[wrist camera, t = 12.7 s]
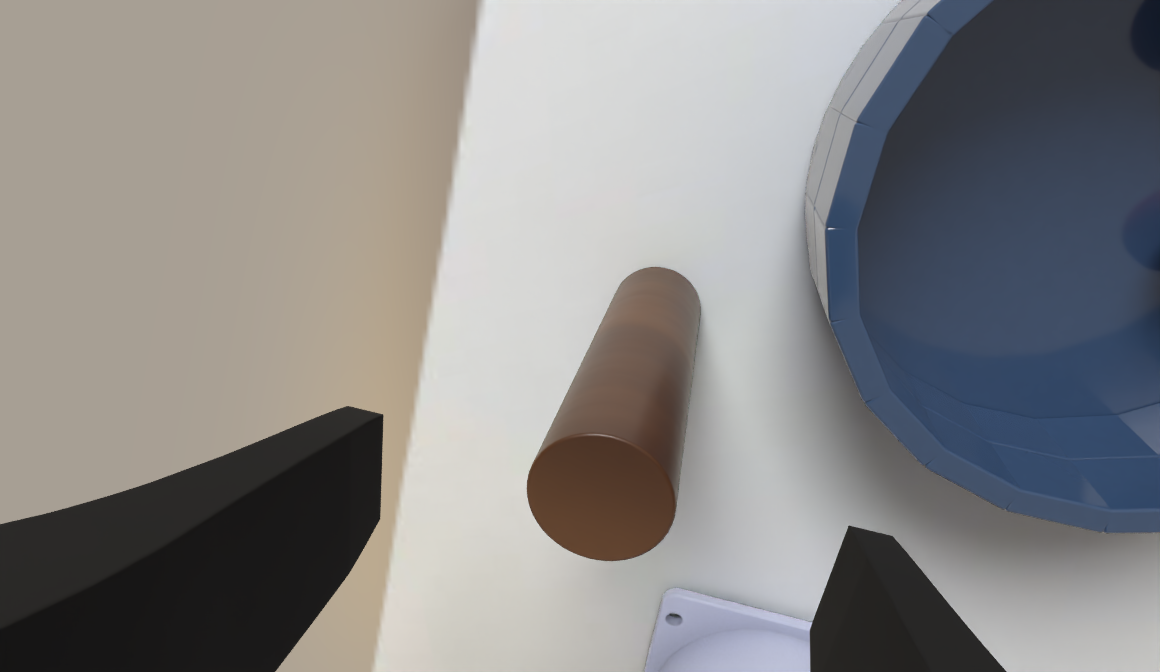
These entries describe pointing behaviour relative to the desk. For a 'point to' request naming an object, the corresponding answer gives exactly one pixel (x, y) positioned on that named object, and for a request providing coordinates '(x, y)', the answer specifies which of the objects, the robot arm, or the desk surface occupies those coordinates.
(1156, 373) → the bowl
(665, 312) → the stirring stick
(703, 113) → the desk surface
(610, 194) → the desk surface
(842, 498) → the desk surface
